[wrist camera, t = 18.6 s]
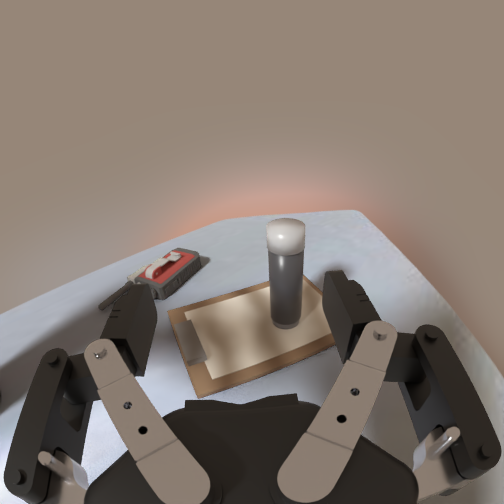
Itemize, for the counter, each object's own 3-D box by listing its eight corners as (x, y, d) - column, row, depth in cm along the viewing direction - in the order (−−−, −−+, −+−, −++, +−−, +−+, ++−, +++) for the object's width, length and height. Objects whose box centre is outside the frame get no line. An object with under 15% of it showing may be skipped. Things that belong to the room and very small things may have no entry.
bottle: (279, 335, 36) (278, 237, 30) (264, 316, 40) (259, 223, 33) (307, 323, 38) (312, 228, 31) (291, 306, 41) (292, 215, 35)
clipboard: (197, 398, 29) (194, 390, 28) (168, 314, 42) (165, 305, 41) (361, 331, 36) (363, 323, 35) (299, 274, 49) (299, 266, 48)
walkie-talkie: (172, 256, 58) (98, 313, 43) (168, 236, 56) (89, 291, 41) (208, 264, 55) (132, 331, 39) (204, 243, 53) (123, 307, 37)
